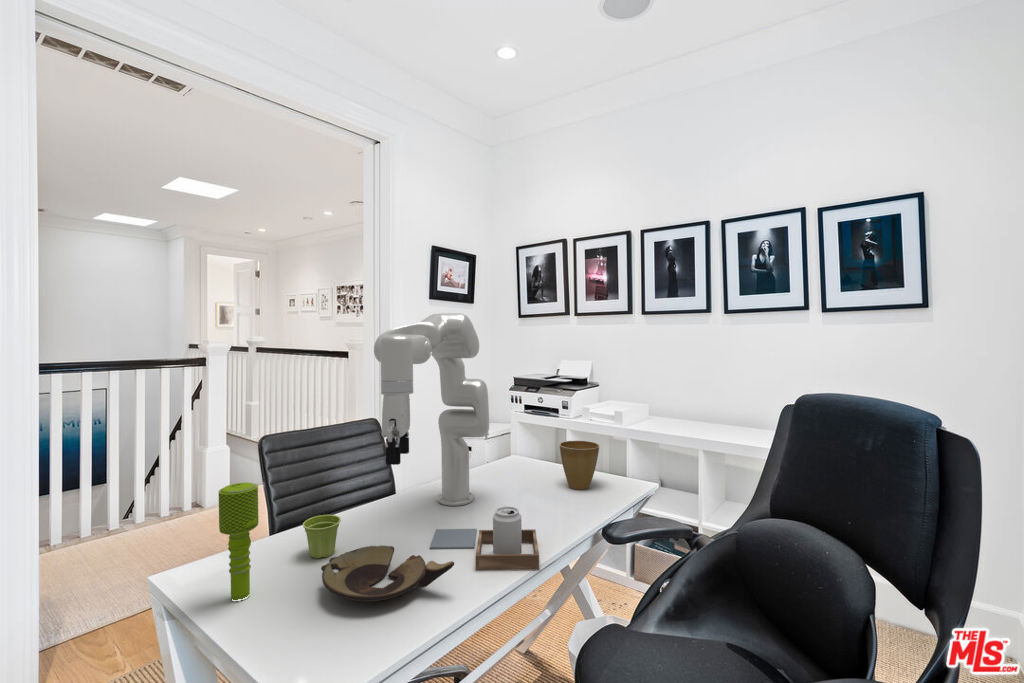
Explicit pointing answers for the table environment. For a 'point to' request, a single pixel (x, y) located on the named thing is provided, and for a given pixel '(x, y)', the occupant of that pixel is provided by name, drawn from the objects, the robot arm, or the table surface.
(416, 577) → the broken ceramic bowl
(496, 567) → the box frame
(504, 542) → the can
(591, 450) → the plant pot
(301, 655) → the table surface
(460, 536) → the mat
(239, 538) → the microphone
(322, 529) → the plant pot
